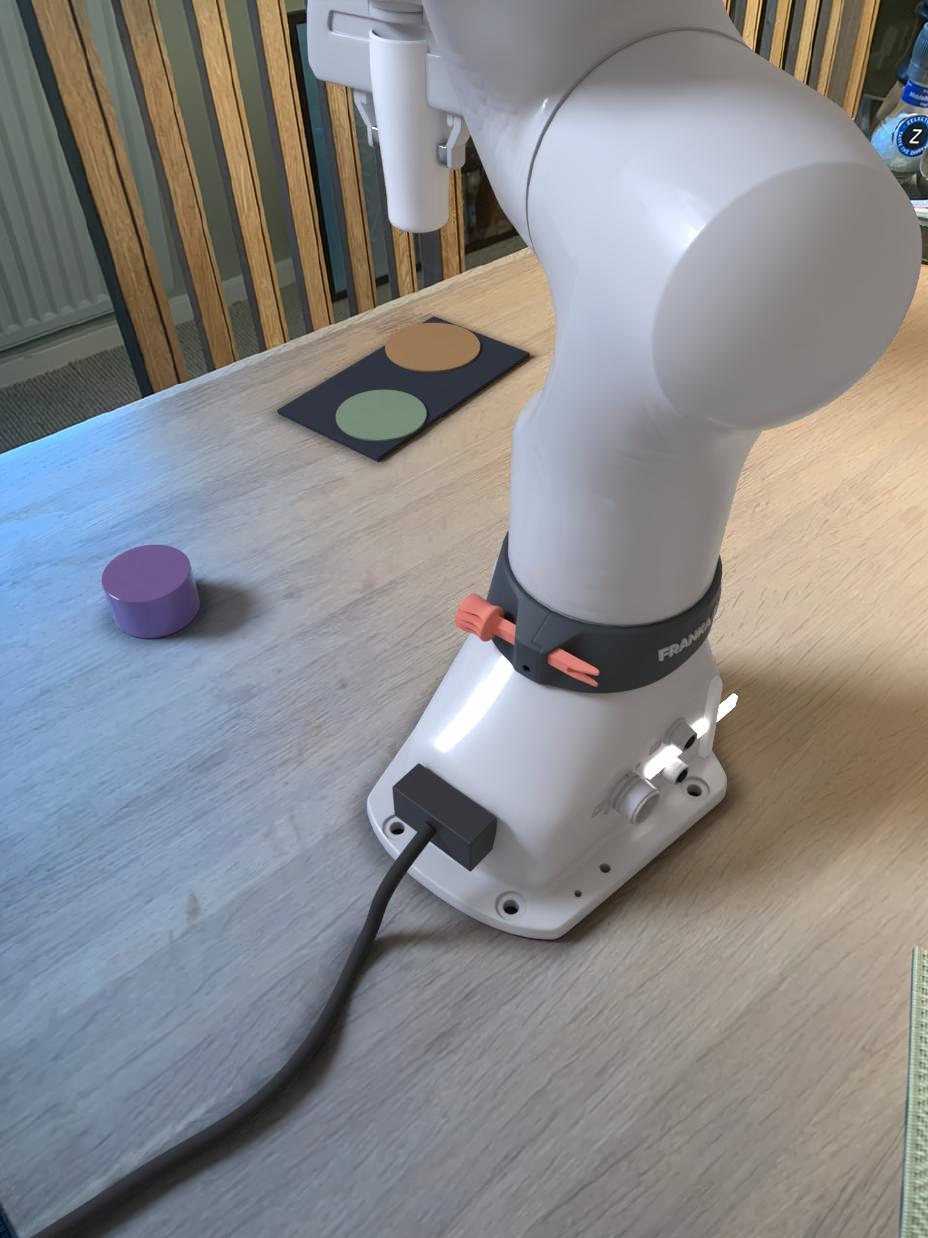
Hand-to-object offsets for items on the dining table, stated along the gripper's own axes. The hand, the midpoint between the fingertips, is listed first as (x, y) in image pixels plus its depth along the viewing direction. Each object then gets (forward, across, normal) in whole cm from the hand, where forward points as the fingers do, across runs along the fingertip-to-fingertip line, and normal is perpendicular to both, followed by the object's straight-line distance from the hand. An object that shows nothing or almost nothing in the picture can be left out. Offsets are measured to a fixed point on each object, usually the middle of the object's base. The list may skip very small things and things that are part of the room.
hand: (416, 156), depth 83 cm
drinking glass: (+6, 0, 0) cm, 6 cm away
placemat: (+18, +2, -5) cm, 19 cm away
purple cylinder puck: (+18, +7, -39) cm, 44 cm away
